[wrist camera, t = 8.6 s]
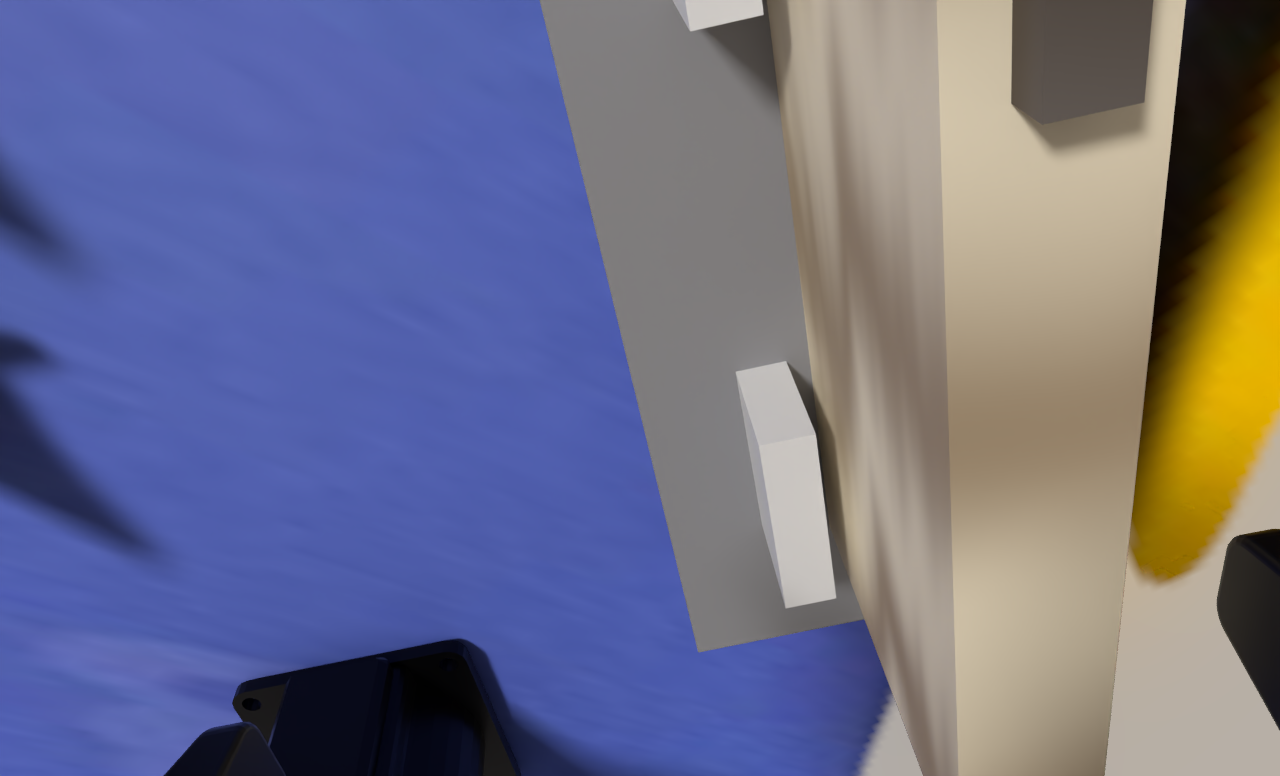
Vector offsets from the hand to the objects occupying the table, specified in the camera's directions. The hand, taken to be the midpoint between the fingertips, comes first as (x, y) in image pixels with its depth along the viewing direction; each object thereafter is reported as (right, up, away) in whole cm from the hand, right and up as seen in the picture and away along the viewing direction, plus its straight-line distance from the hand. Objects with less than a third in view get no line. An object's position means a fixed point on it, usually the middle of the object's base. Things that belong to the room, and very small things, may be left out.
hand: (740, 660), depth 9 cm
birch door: (+3, +6, +8) cm, 10 cm away
